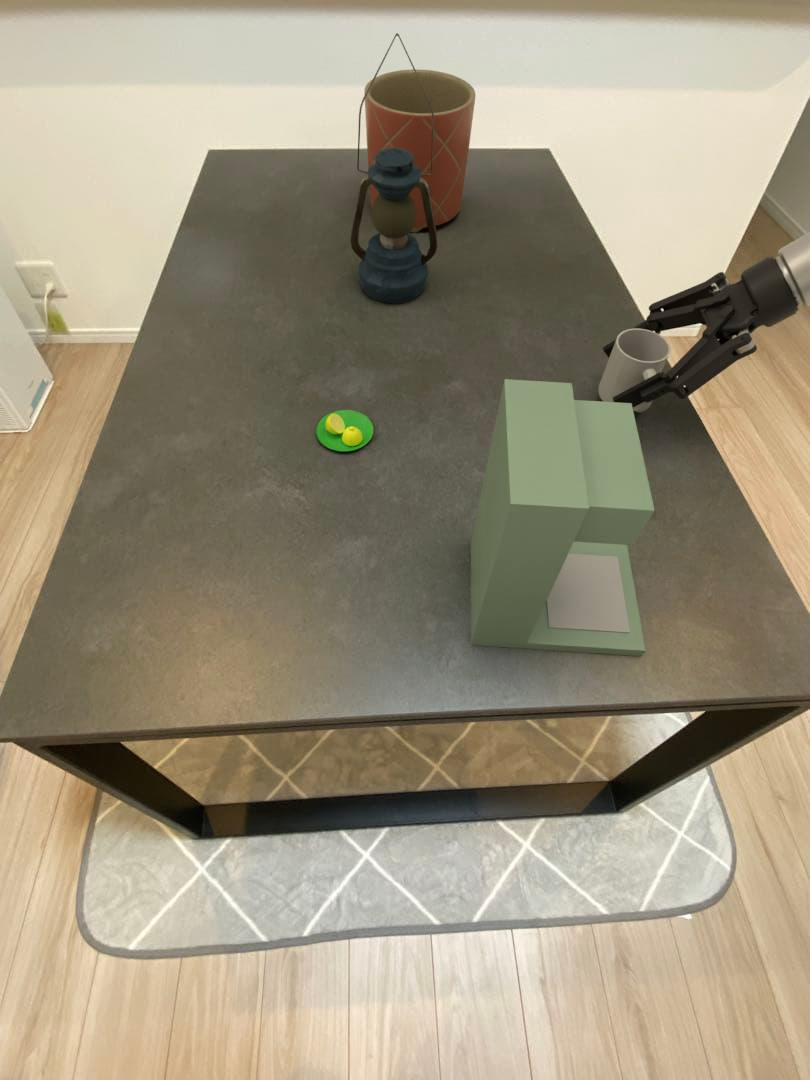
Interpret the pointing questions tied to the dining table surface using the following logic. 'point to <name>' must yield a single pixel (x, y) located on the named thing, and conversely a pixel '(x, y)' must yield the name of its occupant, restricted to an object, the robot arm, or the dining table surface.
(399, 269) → the lantern
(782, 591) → the dining table surface
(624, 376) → the cup
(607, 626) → the coffee maker
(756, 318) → the robot arm
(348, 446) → the plate with lemons
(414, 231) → the planter
